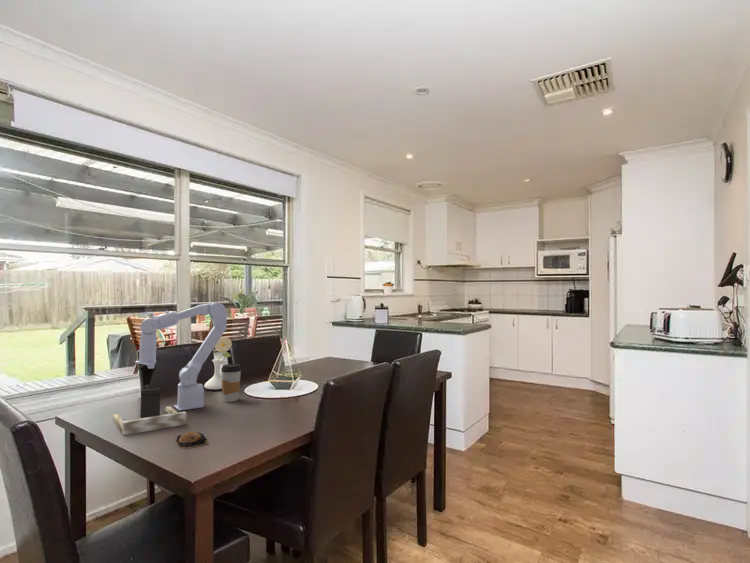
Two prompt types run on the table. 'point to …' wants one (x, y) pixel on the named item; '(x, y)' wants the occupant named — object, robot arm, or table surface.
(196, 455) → the table surface
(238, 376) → the coffee cup
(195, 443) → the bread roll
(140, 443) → the table surface
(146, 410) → the phone stand
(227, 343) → the flower in vase
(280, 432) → the table surface
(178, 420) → the bar
